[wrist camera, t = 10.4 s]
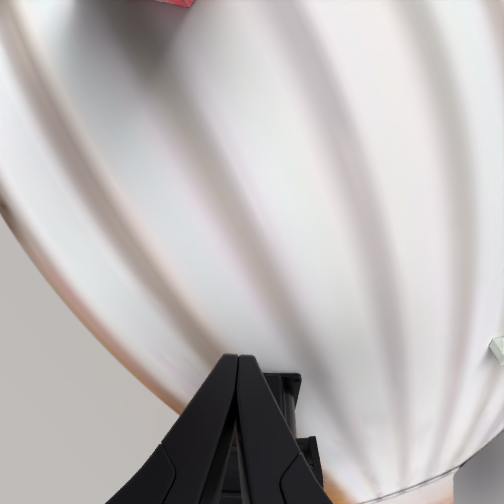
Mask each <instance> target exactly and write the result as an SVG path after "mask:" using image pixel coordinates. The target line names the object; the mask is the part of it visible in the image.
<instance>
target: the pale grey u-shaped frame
mask: <svg viewBox="0 0 504 504" xmlns="http://www.w3.org/2000/svg"><path fill="white" fill-rule="evenodd" d="M489 347H490V348H491V350H492V351H493V353H494V355H495V356H496V358H497V359H498V361H499V363H500V364H501V365H503V364H504V337H500V338H494V339H492V341H491V343H490V345H489Z"/></svg>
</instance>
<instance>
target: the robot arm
mask: <svg viewBox="0 0 504 504" xmlns="http://www.w3.org/2000/svg"><path fill="white" fill-rule="evenodd" d="M301 381H302V380H301V375H300V374H297V373H262V371H261V369H260V367H259V365H258V362H257V360H256V358H255V357H254V356H253V355H240V356H238V355H237V354H223V355H222V357H221V358H220V360H219V361H218V362H217V364H216V365H215V367H214V368H213V370H212V371H211V373H210V374H209V375H208V377H207V378H206V380H205V381H204V383H203V384H202V385H201V387H200V388H199V390H198V391H197V393H196V394H195V395H194V397H193V398H192V400H191V401H190V403H189V404H188V405H187V407H186V408H185V410H184V411H183V412H182V414H181V415H180V417H179V418H178V420H177V421H176V422H175V424H174V425H173V426H172V428H171V429H170V430H169V432H168V433H167V435H166V436H165V437H164V439H163V440H162V441H161V443H162V444H159V445H158V447H157V448H156V449H155V451H154V452H153V453H152V455H151V456H150V457H149V459H148V460H147V461H146V462H145V463H144V465H143V466H142V467H141V468H140V469H139V470H138V472H137V473H136V474H135V475H134V476H133V477H132V478H131V479H130V480H129V481H128V482H127V483H126V484H125V485H124V486H123V487H122V488H121V489H120V490H119V491H118V492H117V493H116V494H115V495H114V496H113V497H112V498H110V499H109V500H108V501H107V502H106V503H105V504H333V502H332V501H331V500H330V499H329V497H328V496H327V494H326V493H325V492H324V490H323V475H322V469H321V463H320V458H319V452H318V447H317V441H316V436H310V437H309V438H297V436H296V421H295V408H296V403H297V399H298V394H299V390H300V385H301Z"/></svg>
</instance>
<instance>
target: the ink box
mask: <svg viewBox="0 0 504 504" xmlns="http://www.w3.org/2000/svg"><path fill="white" fill-rule="evenodd" d="M155 1H161V2H166V3H170V4H175V5H180V6H184V7H190V6H191V5H192V3H193V1H194V0H155Z"/></svg>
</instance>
